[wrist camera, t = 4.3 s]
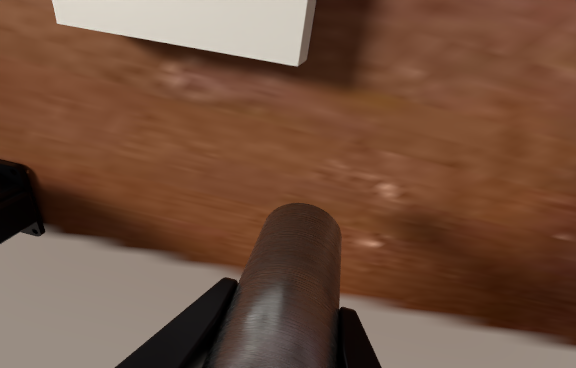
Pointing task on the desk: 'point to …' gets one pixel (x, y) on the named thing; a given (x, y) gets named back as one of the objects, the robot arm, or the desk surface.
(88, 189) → the desk surface
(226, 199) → the desk surface
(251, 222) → the desk surface
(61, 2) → the hole block
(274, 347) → the metal peg
